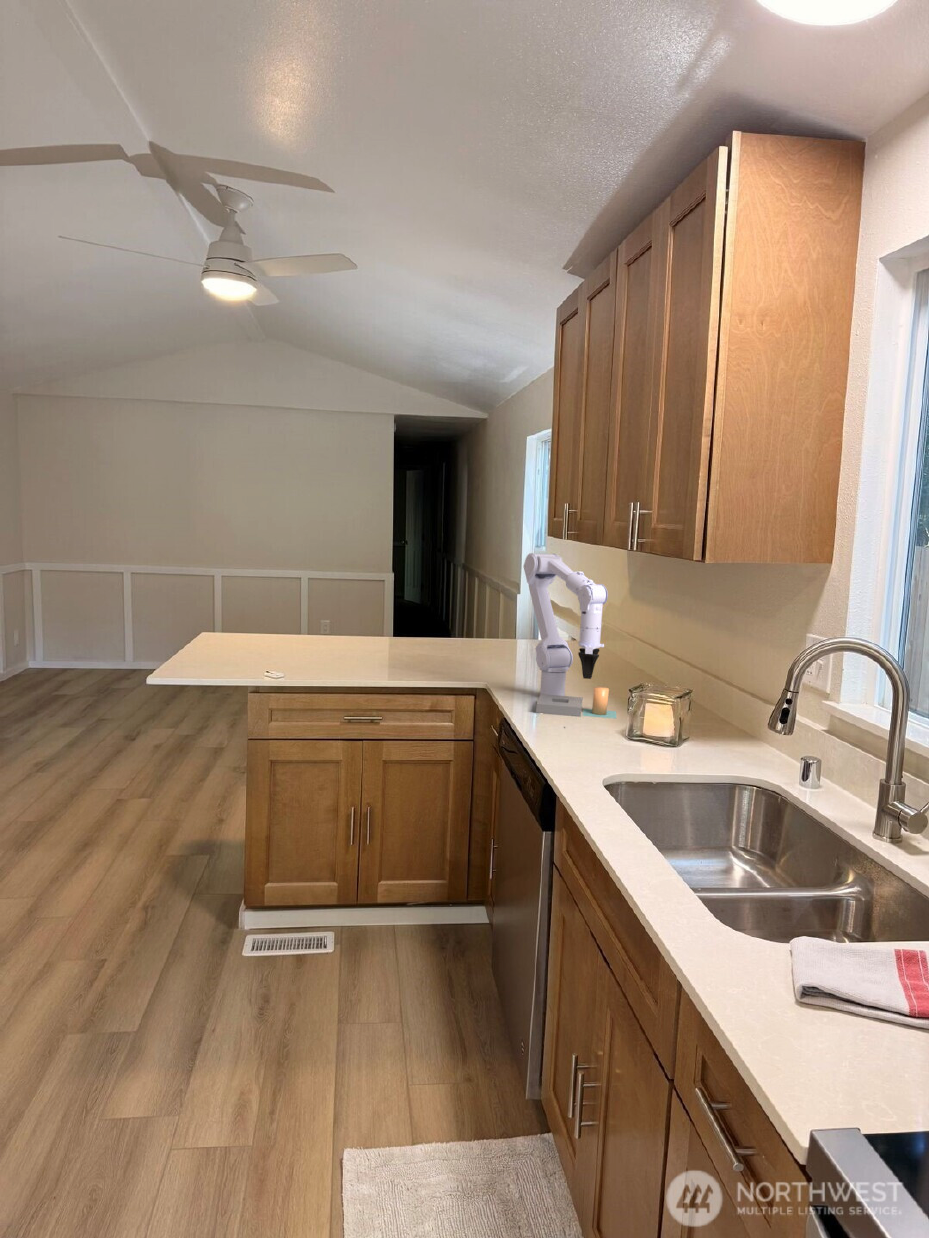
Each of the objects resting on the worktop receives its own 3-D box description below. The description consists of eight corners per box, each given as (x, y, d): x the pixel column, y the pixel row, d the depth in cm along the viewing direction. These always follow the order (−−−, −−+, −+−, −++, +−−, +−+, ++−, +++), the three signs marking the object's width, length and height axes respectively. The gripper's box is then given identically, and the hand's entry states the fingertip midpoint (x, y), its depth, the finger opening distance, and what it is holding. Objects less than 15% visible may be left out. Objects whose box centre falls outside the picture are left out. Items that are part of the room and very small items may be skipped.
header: (539, 704, 244) (540, 693, 243) (581, 707, 242) (582, 697, 241) (535, 714, 230) (536, 703, 230) (580, 718, 228) (581, 707, 228)
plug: (592, 711, 235) (594, 686, 235) (606, 712, 235) (609, 687, 234) (591, 713, 231) (593, 688, 231) (606, 715, 231) (608, 690, 230)
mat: (583, 710, 238) (583, 708, 238) (615, 713, 237) (616, 711, 237) (582, 717, 229) (582, 715, 229) (616, 720, 228) (616, 718, 228)
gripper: (605, 631, 227) (601, 681, 229) (605, 625, 241) (602, 672, 243) (578, 630, 228) (575, 679, 230) (580, 624, 243) (577, 670, 244)
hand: (587, 676), depth 237 cm, fingers open, 7 cm apart
